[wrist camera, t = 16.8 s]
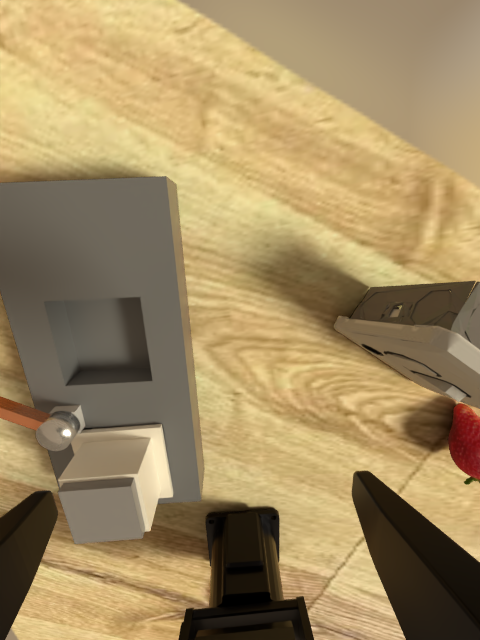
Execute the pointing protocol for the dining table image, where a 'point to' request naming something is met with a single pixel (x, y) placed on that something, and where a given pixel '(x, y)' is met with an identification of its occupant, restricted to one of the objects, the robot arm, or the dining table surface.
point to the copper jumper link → (43, 423)
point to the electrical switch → (423, 334)
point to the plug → (115, 482)
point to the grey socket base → (104, 310)
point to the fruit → (465, 441)
